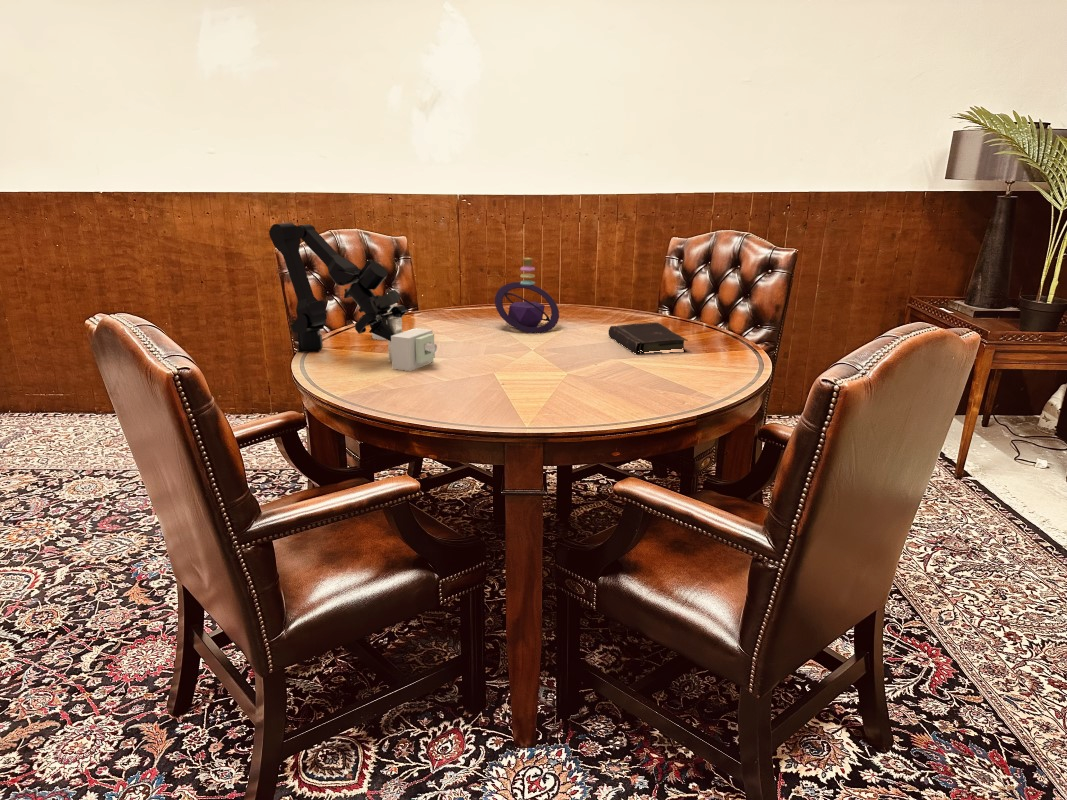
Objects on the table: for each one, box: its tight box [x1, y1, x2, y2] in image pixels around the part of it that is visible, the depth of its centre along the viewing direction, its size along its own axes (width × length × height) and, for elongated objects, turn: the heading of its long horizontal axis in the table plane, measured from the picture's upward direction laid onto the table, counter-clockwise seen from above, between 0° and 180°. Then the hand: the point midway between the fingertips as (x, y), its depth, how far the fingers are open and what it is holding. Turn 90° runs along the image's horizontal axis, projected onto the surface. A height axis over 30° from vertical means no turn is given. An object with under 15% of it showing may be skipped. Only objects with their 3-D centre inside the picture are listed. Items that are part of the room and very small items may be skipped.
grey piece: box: [387, 317, 438, 363], centre depth 208 cm, size 15×3×13 cm, turn 64°
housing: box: [391, 327, 435, 372], centre depth 208 cm, size 6×12×10 cm, turn 154°
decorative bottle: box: [494, 257, 560, 334], centre depth 255 cm, size 22×21×25 cm
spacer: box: [416, 334, 436, 363], centre depth 206 cm, size 2×7×7 cm, turn 154°
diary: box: [608, 322, 689, 354], centre depth 237 cm, size 19×25×5 cm
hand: (399, 340), depth 209 cm, fingers closed on grey piece, 3 cm apart
